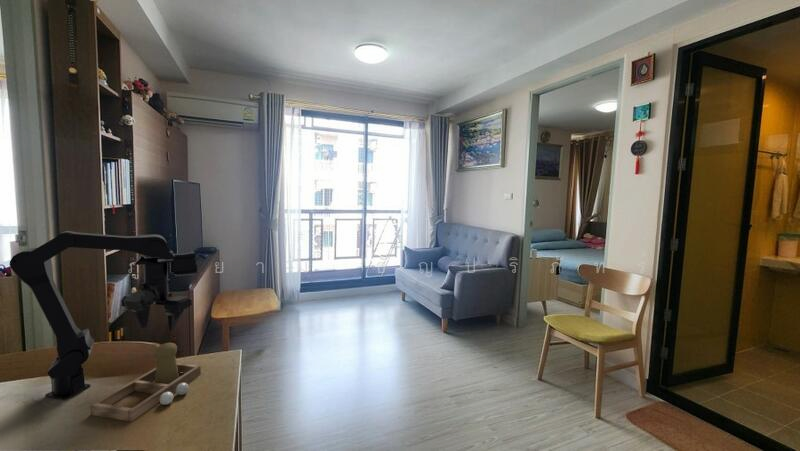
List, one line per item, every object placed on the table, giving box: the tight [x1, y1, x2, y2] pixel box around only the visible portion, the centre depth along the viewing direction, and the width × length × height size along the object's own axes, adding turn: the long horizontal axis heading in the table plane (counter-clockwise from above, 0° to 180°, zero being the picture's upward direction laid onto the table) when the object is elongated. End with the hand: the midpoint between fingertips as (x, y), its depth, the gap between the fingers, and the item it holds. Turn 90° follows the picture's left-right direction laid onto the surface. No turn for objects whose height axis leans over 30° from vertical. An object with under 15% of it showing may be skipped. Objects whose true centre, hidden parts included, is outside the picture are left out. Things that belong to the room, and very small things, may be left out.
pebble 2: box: [175, 383, 189, 396], centre depth 92 cm, size 3×3×3 cm
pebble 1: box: [159, 392, 175, 406], centre depth 87 cm, size 3×3×3 cm
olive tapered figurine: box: [154, 342, 180, 384], centre depth 97 cm, size 6×6×11 cm
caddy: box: [90, 362, 202, 422], centre depth 92 cm, size 12×22×2 cm, turn 171°
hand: (157, 329), depth 102 cm, fingers open, 9 cm apart
